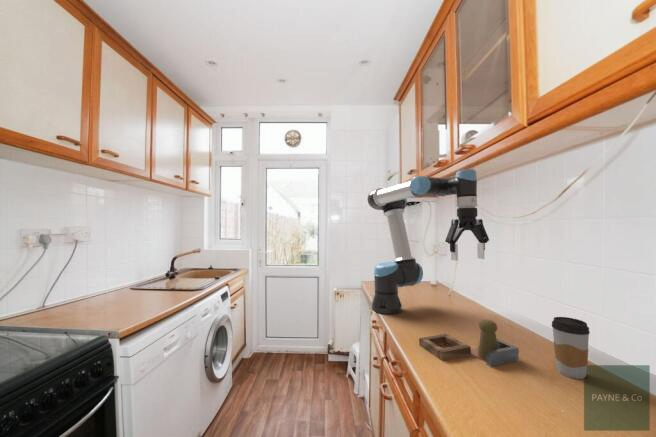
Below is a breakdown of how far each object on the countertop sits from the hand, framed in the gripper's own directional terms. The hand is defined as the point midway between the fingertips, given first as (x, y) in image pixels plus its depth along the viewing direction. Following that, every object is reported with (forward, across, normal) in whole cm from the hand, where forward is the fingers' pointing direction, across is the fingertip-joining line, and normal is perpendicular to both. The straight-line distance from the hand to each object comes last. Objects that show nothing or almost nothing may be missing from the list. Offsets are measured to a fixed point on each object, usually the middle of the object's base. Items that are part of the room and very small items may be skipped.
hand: (467, 259), depth 113 cm
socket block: (+29, -22, -11) cm, 38 cm away
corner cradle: (+29, -11, -19) cm, 36 cm away
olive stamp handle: (+29, -11, -19) cm, 36 cm away
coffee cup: (+29, +2, -35) cm, 45 cm away
